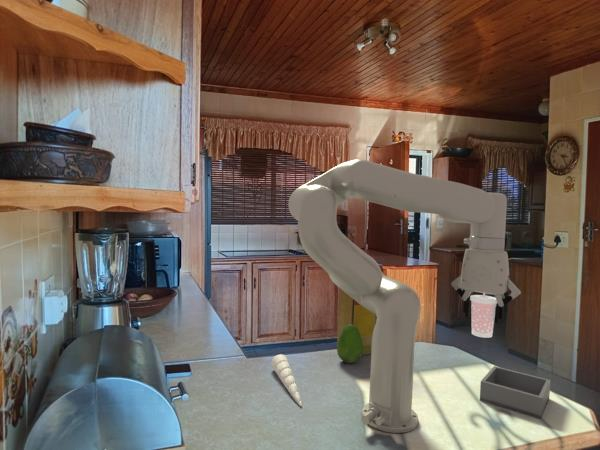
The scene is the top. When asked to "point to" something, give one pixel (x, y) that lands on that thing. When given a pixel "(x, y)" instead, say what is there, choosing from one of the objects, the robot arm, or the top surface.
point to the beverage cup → (482, 315)
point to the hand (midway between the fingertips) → (482, 318)
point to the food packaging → (356, 320)
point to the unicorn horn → (286, 376)
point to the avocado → (349, 344)
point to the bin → (515, 391)
